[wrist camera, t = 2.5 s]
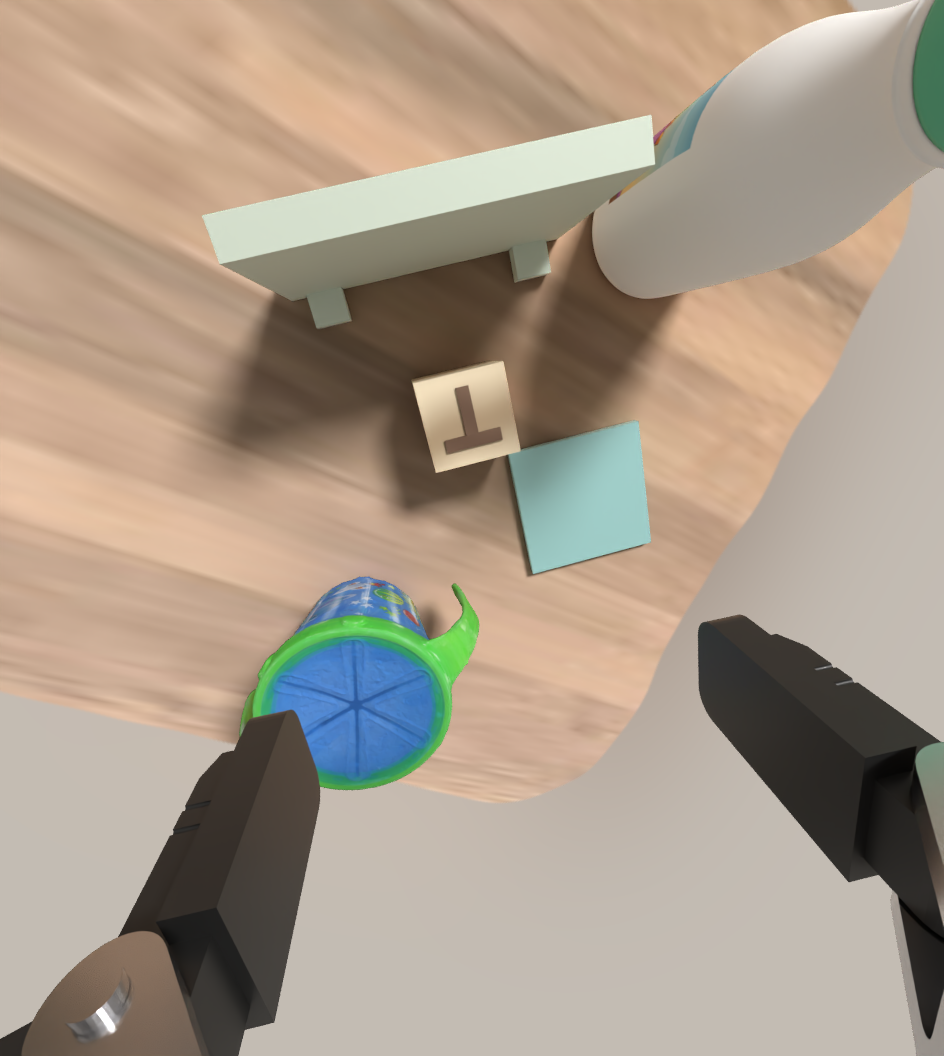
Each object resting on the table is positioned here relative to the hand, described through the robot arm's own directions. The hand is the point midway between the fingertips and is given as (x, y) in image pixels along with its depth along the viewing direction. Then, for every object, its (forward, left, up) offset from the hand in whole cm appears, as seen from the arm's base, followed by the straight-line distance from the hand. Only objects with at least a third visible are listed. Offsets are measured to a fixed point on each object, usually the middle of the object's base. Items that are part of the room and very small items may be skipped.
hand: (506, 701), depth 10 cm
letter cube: (-3, +2, -25) cm, 25 cm away
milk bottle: (-10, +16, -25) cm, 31 cm away
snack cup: (+10, -8, -25) cm, 28 cm away
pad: (+5, +9, -24) cm, 27 cm away
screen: (-12, +2, -24) cm, 27 cm away
